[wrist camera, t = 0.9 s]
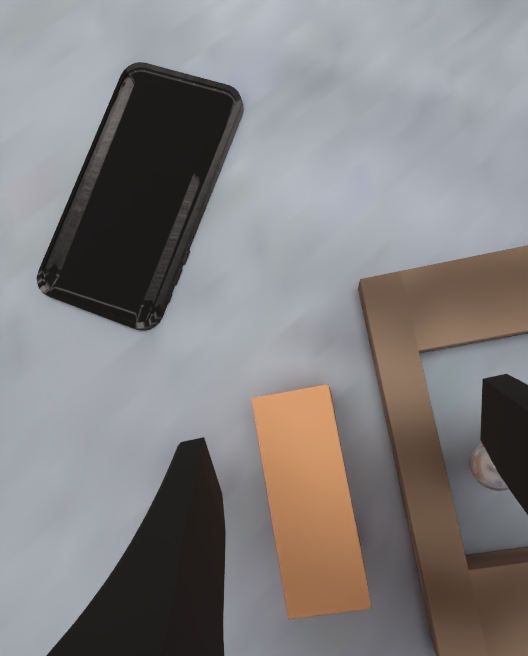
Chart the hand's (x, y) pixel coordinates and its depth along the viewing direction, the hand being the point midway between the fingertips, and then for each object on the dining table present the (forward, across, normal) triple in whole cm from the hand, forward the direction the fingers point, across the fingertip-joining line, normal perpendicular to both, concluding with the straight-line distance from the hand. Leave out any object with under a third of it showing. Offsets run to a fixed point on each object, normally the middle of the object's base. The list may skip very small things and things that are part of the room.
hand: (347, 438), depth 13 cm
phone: (+21, +7, -2) cm, 22 cm away
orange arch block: (+9, 0, +10) cm, 14 cm away
